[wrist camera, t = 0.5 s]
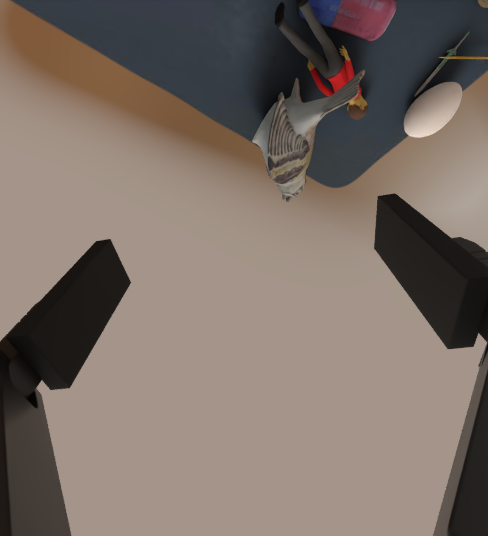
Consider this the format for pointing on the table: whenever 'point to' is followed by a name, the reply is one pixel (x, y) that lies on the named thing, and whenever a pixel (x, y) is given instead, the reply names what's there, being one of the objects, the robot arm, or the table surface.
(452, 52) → the sword
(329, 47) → the person figure
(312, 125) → the figurine
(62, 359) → the robot arm
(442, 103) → the egg
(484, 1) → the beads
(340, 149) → the table surface
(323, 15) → the eraser
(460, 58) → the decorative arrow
